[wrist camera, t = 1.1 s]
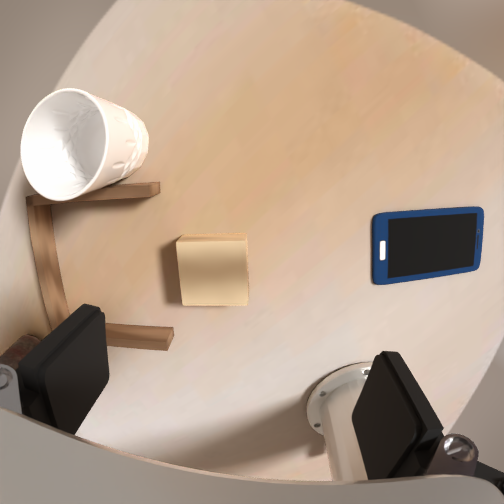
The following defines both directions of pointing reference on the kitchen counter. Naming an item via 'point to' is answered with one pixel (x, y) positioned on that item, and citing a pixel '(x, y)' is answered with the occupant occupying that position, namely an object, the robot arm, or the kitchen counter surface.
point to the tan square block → (213, 269)
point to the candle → (19, 351)
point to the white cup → (80, 144)
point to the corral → (52, 278)
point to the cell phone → (426, 243)
